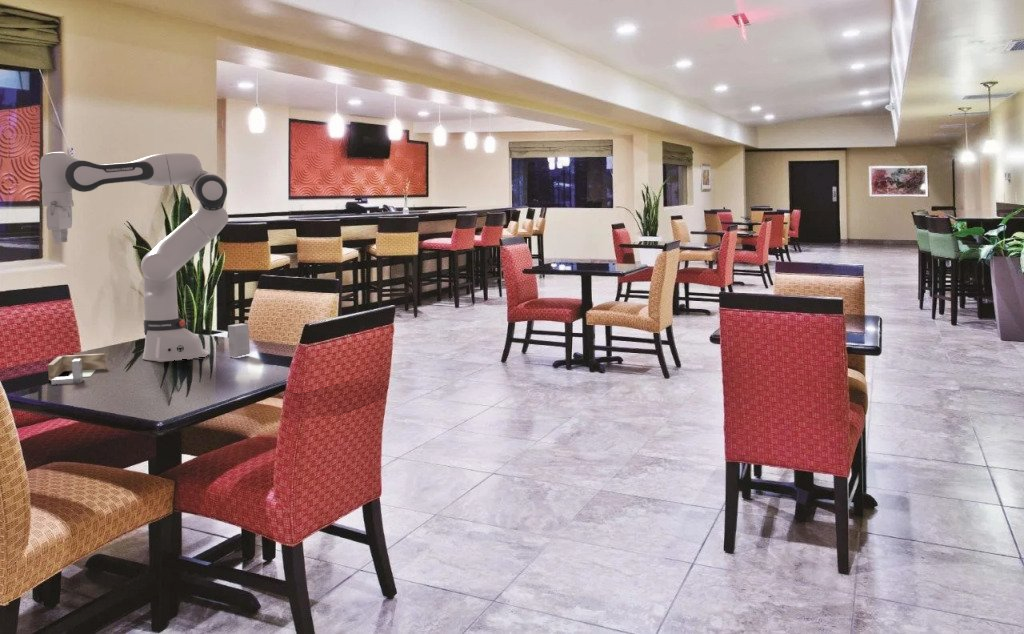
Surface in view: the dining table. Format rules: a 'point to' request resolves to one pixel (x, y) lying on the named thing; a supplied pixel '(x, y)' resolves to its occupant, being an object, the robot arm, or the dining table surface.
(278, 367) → the dining table surface
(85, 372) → the pad
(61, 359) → the tan bent bar
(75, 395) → the dining table surface
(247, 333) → the skincare box
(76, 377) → the bracket
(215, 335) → the dining table surface
